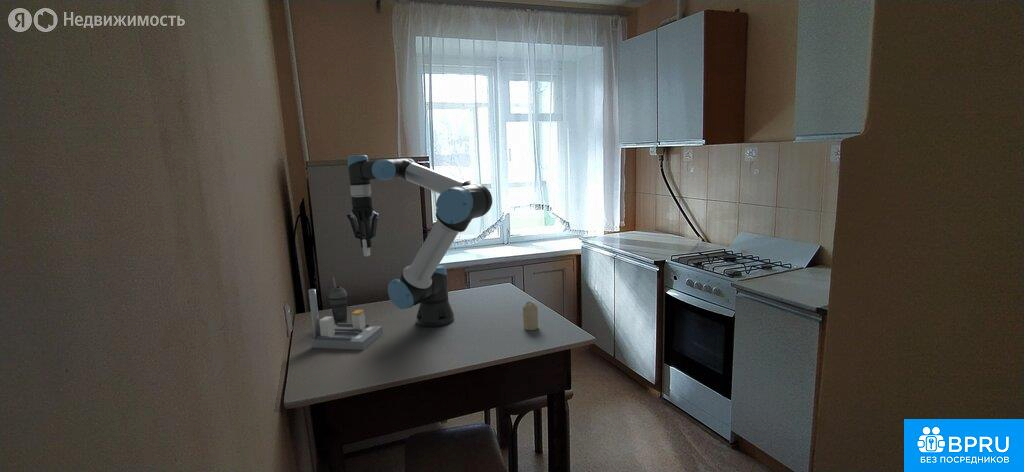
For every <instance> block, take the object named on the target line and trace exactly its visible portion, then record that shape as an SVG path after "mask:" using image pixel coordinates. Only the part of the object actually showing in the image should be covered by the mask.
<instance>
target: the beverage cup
mask: <svg viewBox="0 0 1024 472" xmlns="http://www.w3.org/2000/svg"><path fill="white" fill-rule="evenodd" d="M332 280H333V286H334V287H333V288H332V289H331V290H330V291H329V294H328V300H329V304H330V308H331V312H332V317H333V321H334V325H337V323H348V303H347V302H348V294H347V293H348V292H347V291H346V289H344V288H343V287H340V286H337V285H336V284H337V283H336V280H335V276H332Z"/></svg>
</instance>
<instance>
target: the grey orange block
mask: <svg viewBox="0 0 1024 472" xmlns="http://www.w3.org/2000/svg"><path fill="white" fill-rule="evenodd" d="M351 323H352V324H353V329H362V330H363V329H364V328H365V327H366V324H367V323H366V317H365V310H364V309H356V310H354V311H352V312H351Z"/></svg>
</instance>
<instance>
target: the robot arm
mask: <svg viewBox="0 0 1024 472" xmlns="http://www.w3.org/2000/svg"><path fill="white" fill-rule="evenodd" d="M347 169H348V170H347V171H348V178H349V187H350V188H349V189H350V190H349V191H350V196H351V198H350V199H351V206H352V209H351V212H350V213H348V214H346V217H347V219H348V220H349V222H350V223H349V224H350V225H351V229H352V231H353V234H354V237H355V239H359V240H360V248H361V249H362V251H363V257H369V256H371V248H372V245H373V244H372V239H373V238H375V237H376V236H377V227H378V219H379V218H380V213H379V212H376V211H375V210H374V208H373V198H372V196H371V195H372V187H371V181H389V180H393V179H394V180H395V179H401V180H404V181H407V182H410V183H412V184H415V185H417V186H420V187H422V188H425V189H427V190H430V191H432V192H435V193H437V194H439V196H438V197H437V199H436V203H435V207H436V209H435V211H436V213H435V218H436V222H434V225H433V227H432V228H431V229H430V232H429V233H428V235H427V237H426V239H425V240H424V242H423V244H422V246H421V247H420V249H419V250H418V252H417V254H416V255H415V257H414V259H413V261H412V262H411V264H410V265H407V266H405V267H404V269H403V270H402V271H401V273H400V274H399V276H398V277H397V278H394V279H393V280H391V281H390V282H389V283H388V286H387V294H388V298H389V300H390V301H391V303H392V304H393V305H394V306H395V307H396V308H398V309H400V310H407V309H410V308H413V307H414V306H417V305H418V309H417V312H416V318H415V319H416V320H415V321H416V324H417V325H418V326H421V327H426V328H434V327H442V326H446V325H449V324H451V323H452V322H454V321H455V314H454V311H453V308H452V306H451V303H450V301H449V300H450V299H449V288H448V287H449V286H448V273H447V267H445V266H444V265H442V264H440V263H441V262H442V260H443V259H444V257H445V255H446V254H447V252H448V251H449V249H450V247H451V246H452V244H453V242H454V240H455V239H456V238H457V236H458V234H459V233H463V232H465V231H466V230H467V228H468V227H469V225H470V224H471V222H472V220H474V219H477V218H481V217H482V216H483V217H484V216H485V215H487V214H488V213H489V211H490V210H491V208H492V205H493V196H492V193H491V191H490V190H489V189H488V188H487V187H486V186H485V185H483V184H480V183H479V182H475V181H472V180H470V179H467V180H465V181H464V180H462V179H458V178H456V177H453V176H451V175H448V174H445V173H442V172H439V171H437V170H434V169H431V168H428V167H426V166H423V165H420V164H418V163H417V162H416V161H415V160H414V159H413V158H408V157H404V158H390V159H389V158H388V159H387V158H382V159H381V158H380V159H371V160H369V157H368V155H366V154H362V155H360V154H358V155H349V156H348V157H347ZM371 218H372V219H371Z"/></svg>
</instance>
